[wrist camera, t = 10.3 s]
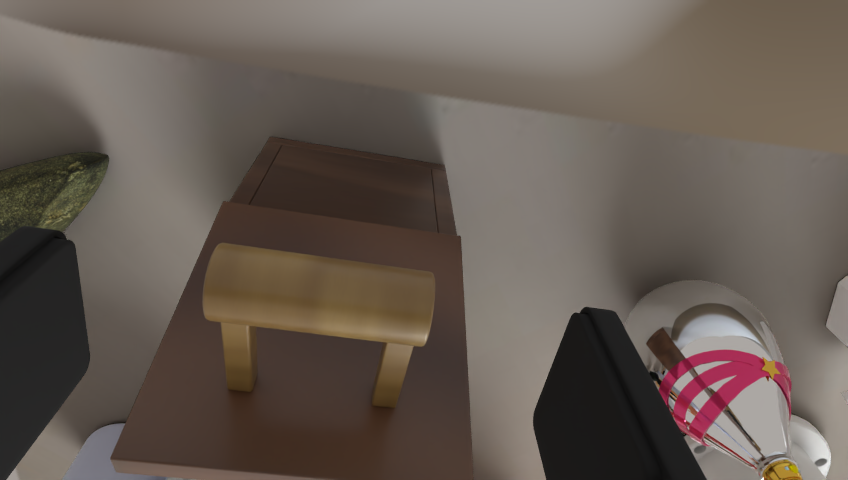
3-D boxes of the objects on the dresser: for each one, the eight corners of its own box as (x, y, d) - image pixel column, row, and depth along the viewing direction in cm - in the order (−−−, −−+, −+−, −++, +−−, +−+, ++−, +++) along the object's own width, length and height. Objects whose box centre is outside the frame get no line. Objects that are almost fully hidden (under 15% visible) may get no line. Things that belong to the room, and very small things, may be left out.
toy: (751, 267, 33) (1233, 739, 14) (686, 361, 36) (997, 840, 17) (636, 236, 32) (994, 711, 12) (580, 337, 35) (791, 827, 16)
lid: (467, 504, 15) (536, 391, 11) (115, 473, 14) (53, 335, 10) (456, 249, 22) (495, 126, 18) (224, 216, 21) (213, 77, 17)
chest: (414, 303, 33) (417, 399, 27) (262, 282, 32) (224, 377, 26) (445, 164, 29) (457, 237, 22) (269, 135, 28) (227, 203, 21)
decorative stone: (-44, 265, 31) (-99, 307, 28) (-104, 191, 29) (-172, 227, 25) (152, 216, 30) (119, 253, 27) (106, 135, 28) (64, 164, 24)
